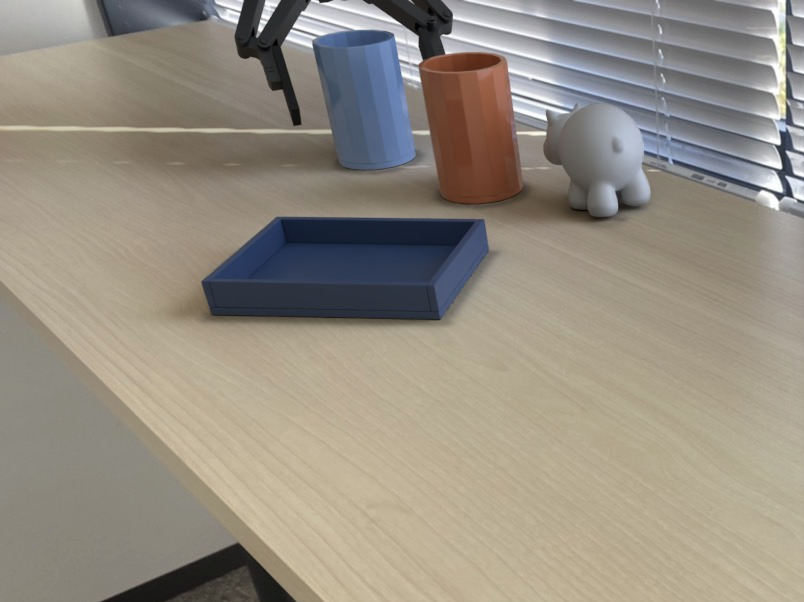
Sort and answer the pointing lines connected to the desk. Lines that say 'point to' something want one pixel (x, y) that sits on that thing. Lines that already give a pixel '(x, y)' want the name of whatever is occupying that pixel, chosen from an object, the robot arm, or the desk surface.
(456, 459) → the desk surface
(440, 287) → the blue tray
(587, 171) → the round bodied animal figurine
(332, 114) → the blue cup
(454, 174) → the clay cup
